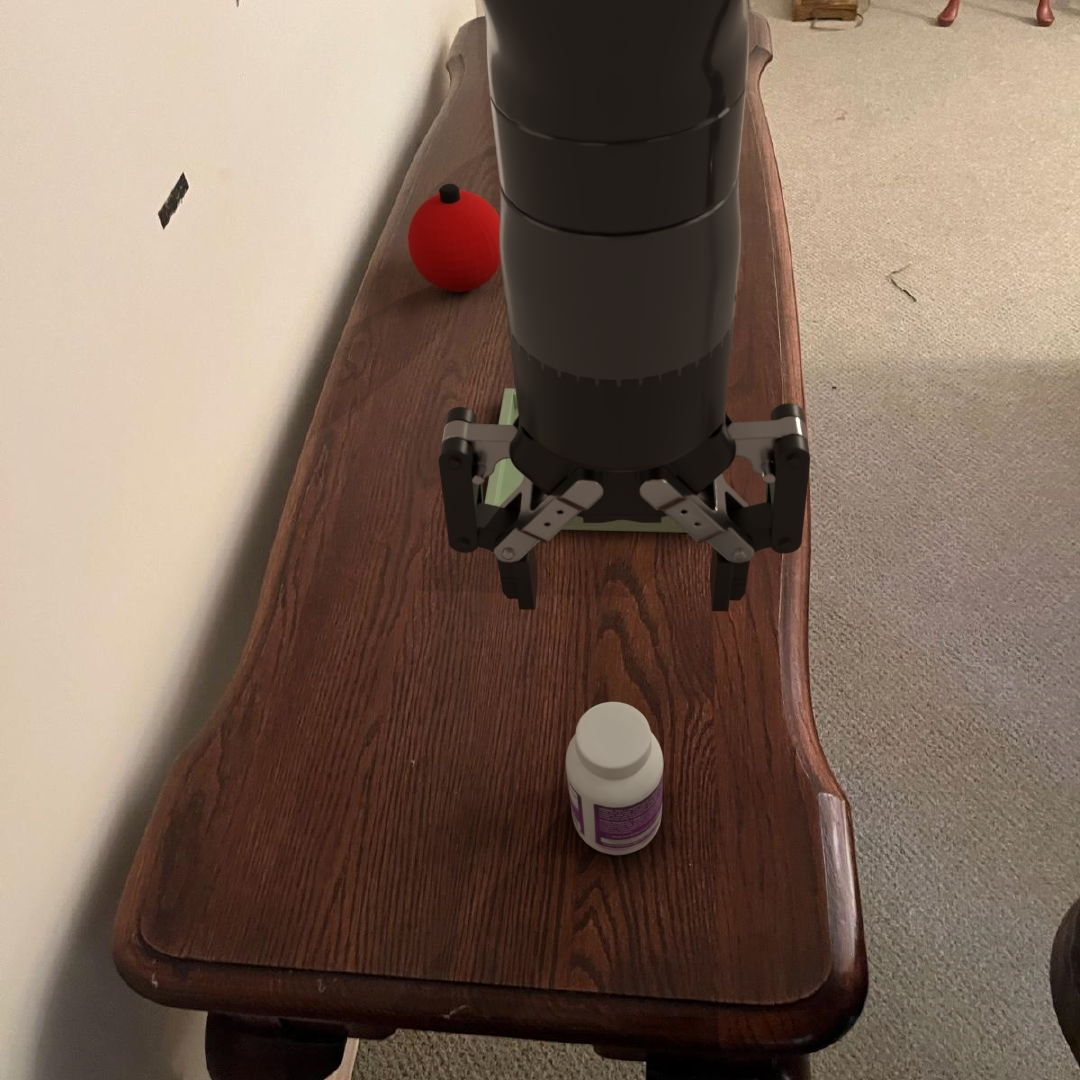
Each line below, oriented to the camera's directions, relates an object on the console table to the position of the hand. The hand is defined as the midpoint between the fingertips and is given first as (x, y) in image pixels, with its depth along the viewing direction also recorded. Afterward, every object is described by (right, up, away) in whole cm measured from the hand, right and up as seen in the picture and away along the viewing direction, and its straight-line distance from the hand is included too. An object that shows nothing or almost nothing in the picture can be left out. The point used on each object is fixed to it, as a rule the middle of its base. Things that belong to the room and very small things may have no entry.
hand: (623, 595), depth 45 cm
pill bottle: (+1, -14, +14) cm, 20 cm away
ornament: (-11, +27, +50) cm, 58 cm away
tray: (+1, +8, +33) cm, 34 cm away
